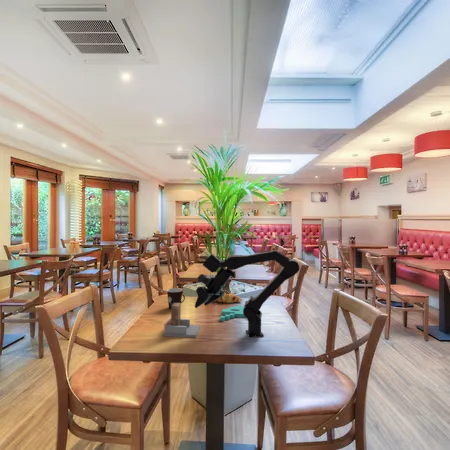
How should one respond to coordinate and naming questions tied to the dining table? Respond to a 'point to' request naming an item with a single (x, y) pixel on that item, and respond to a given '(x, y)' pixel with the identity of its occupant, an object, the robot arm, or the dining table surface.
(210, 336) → the dining table surface
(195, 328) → the seat
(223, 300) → the croissant
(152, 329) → the dining table surface
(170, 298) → the coffee mug
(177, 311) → the menu block
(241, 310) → the alien figure
